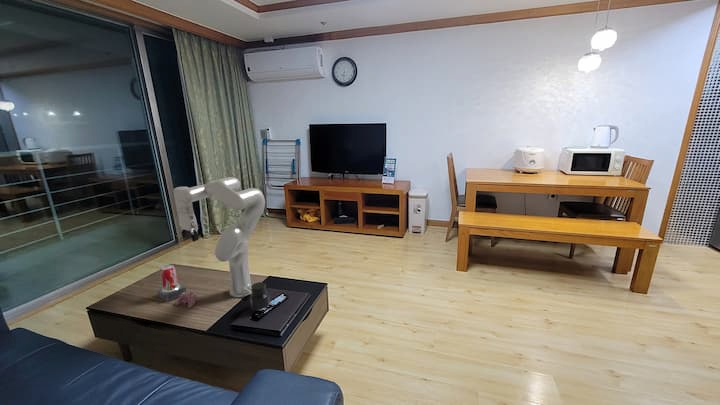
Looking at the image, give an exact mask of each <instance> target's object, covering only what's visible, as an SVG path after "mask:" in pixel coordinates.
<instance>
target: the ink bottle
mask: <svg viewBox="0 0 720 405" xmlns="http://www.w3.org/2000/svg"><path fill="white" fill-rule="evenodd" d="M251 291H252V293H251V294H250V296H249V299H250V309H251V311H253V310H254V311H253V312H255V311H257V310H259V309H262V308H264V307H266V306H267V305H268V304H269V303H270V304H271V300H270V293H269V292H268V291H267V284H266V283H265V282H261V281H259V282H256V283H253V284H252V286H251Z"/></svg>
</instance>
